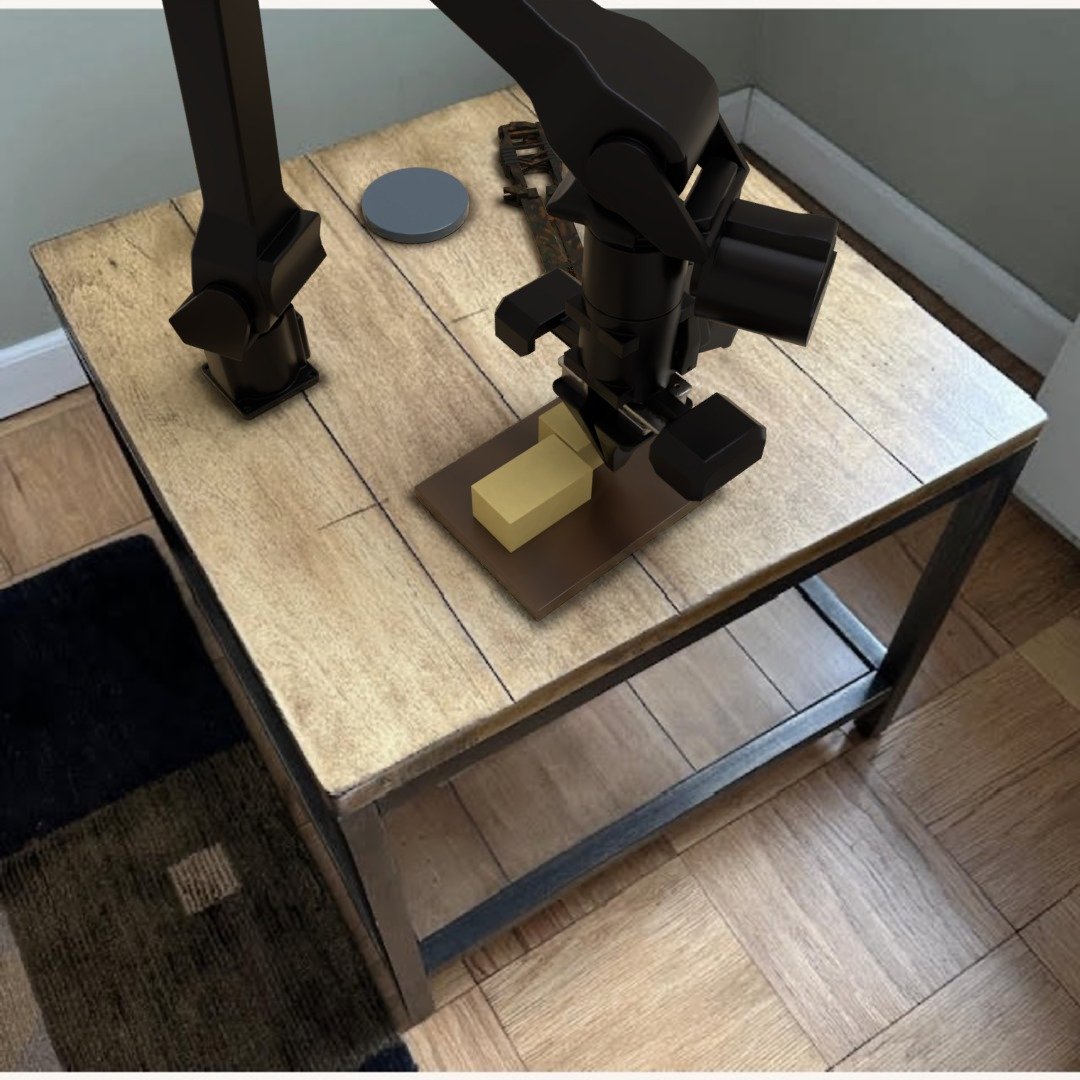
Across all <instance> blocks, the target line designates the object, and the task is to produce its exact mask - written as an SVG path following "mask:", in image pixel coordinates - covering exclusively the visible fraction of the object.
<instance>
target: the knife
mask: <svg viewBox="0 0 1080 1080" xmlns="http://www.w3.org/2000/svg"><path fill="white" fill-rule="evenodd" d="M497 136H498V139H499V140H502V143H499V144H498V150H499V161H500V163H501V167H502V170H503V174H504V176H505V178H508V179H510V181H511V185H509V186H503V187H502V192H503V194H504V195H503V203H504V204H508V205H511V206H514V207H518V208H521V207H522V208H523V210H524V214H525V216H526V220H527V223H528V225H529V228H530V232H531V234H532V237H533V239H534V242H535V245H536V248H537V251H538V254H539V257H540V259H541V263H542V266H543V268H544V271H545V274H546V273H547V272H549V271H551V270H554V269H556V268H560V269H562V270H564V271H566V272H568V273H569V269H570V270H571V269H572V271H573V272H572V273H573V274H574V277H575V278H576V279H577V280H578V281H580V282H581V283H582V270H583V249H584V236H583V235H582V232H581V230H580V227H579V224H578V223H574V222H570V221H566V220H562V219H559V218H555V217H551V216H549V215H548V214H547V213H546V206H545V204H544V201H543V199H542V196H541V195H540V194H539V191H538V189H537V187H528V184H527V181H526V178H525V175H524V174H526V173H528V172H531V171H533V170H535V169H536V170H540V171H544V172H549V174H550V176H551V179H552V182H553V184H551V185H546V186H545V196H546V199H545V200H546V201H547V203H548V202H549V200H550V199H551V197H552V196H553V194H554V193H555V191H556V189H557V188H558V186H559V185H560V183H561V182H562V180H563V176H562V172H563V163H562V161H561V160H560V159H559V158H558V157H557V155H556V154H555V153H554V152H553V150H552V149H551V148H550V147H549V145H548V143H547V140H546V137H545V135H544V132H543V130H542V127H541V125H540V122H539V121H534V122H530V121H527V120H520V121H518V120H516V121H515V120H514V121H509V123H507V124H501V125H499V126H498V127H497ZM511 137H512V138H522V141H521V140H520V141H515V142H512V139H511ZM537 148H540V151H539V152H537V153H530V154H529V153H528V154H523V155H518V153H517V151H522V150H529V149H537ZM537 159H538V160H537ZM522 167H525V168H522ZM551 222H554V223H555V225H556V229H557V231H558V234H559V237H560V240H561V242H562V245H563V247H564V250H565V253H566V255H567V259H568V261H566V262H565V259H564V257H563V254H562V251H561V248H560V245H559V243H558V240H557V237H556V234H555V232H554V229H553V226H552V224H551Z"/></svg>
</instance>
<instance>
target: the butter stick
mask: <svg viewBox="0 0 1080 1080" xmlns="http://www.w3.org/2000/svg"><path fill="white" fill-rule="evenodd" d="M592 476H593V468H592V467H590V466H589V465H588V464H587V463H586V462H585V461H584V460H583V459H582V458H580V457H579V456H578V455H577V454H576V453H575V452H574V451H573V450H571V449H570V448H569V447H568V446H567V445H566V444H565V443H564V442H562V441H561V440H560V439H559V438H558V437H557V436H556V435H555V434H552V435H550V436H549V437H547V438H546V439H544V440H542V441H541V442H539V443H538V444H536V445H535V446H533V447H531V448H530V449H528V450H527V451H525V452H524V453H522V454H520V455H519V456H517V457H516V458H514V459H513V460H511V461H509V462H508V463H506V464H505V465H503V466H502V467H500V468H498V469H497V470H495V471H494V472H492V473H491V474H489V475H487V476H486V477H484V478H483V479H481V480H480V481H478V482H476V483H475V484H473V485H472V486H471V492H472V507H473V516H474V517H475V518H476V519H477V520H478V521H479V522H480V523H481V524H482V525H483V526H484V527H485V528H486V529H487V530H488V531H489V532H490V533H491V534H492V535H493V536H494V537H495V538H496V539H497V540H498V541H499V542H500V543H501V544H502V545H503V546H504V547H505V548H506V549H507V550H508V551H509V552H513V551H514V550H516V549H517V548H519V547H520V546H522V545H523V544H525V543H526V542H528V541H529V540H531V539H532V538H533V537H535V536H536V535H538V534H539V533H541V532H542V531H544V530H545V529H547V528H548V527H550V526H551V525H553V524H554V523H556V522H557V521H559V520H560V519H562V518H563V517H564V516H566V515H567V514H569V513H570V512H572V511H573V510H575V509H576V508H578V507H579V506H581V505H582V504H584V503H585V502H587V501H588V500H590V499H591V490H592Z"/></svg>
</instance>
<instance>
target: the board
mask: <svg viewBox="0 0 1080 1080" xmlns="http://www.w3.org/2000/svg"><path fill="white" fill-rule="evenodd" d="M561 402H563V401H562V400H561V399H560V398H559V396H557V397H556V398H554V399H552V400H551V401H549V402H548V403H546V404H545V405H543V406H542V407H540V408H537V410H535V411H533V412H531V413H530V414H528V415H527V416H525V417H523V418H522V419H520V420H518V421H516V423H514V424H513V425H511V426H509V427H507V428H505V430H503V431H501V432H499V433H498V434H496V435H495V436H493V437H491V438H489V439H488V440H487V441H485V442H483V443H482V444H480V445H479V446H477V447H475V448H473V449H472V450H470V451H469V452H468V453H466V454H464V455H463V456H461V457H459V458H458V459H456V460H454V461H453V462H451V463H449V464H448V465H446V466H445V467H443V468H442V469H440V470H438V471H437V472H435V473H433V474H431V475H429V477H427V478H425V479H424V480H422V481H421V482H419V483H417V484H416V485H414V487H413V488H414V494H415V495H414V496H415V498H416V499H417V501H419V502H420V503H421V504H422V505H423V506H424V507H425V508H426V509H427V510H428V512H429V513H431V515H433V516H434V518H435V519H436V520H437V521H439V523H440V524H442V526H443V527H444V528H445V529H447V531H448V532H449V533H450V534H451V535H452V536H453V537H454V538H455V539H456V540H457V541H458V542H459V543H460V544H461V545H462V546H463V547H464V548H465V549H466V550H467V551H468V552H469V553H470V554H471V555H472V556H473V558H475V559H476V560H477V561H478V562H479V563H480V564H481V565H482V567H484V568H485V569H486V571H488V572H489V574H490V575H492V577H494V578H495V579H496V580H497V582H498V583H499V584H500V585H501V586H503V587H504V589H505V590H507V591H508V593H509V594H510V595H511V596H512V597H513V598H514V599H515V600H516V601H517V602H518V603H519V604H520V605H521V606H522V608H524V609H525V610H526V611H527V612H528V613H529V614H530V615H531V616H532V617H533V618H534V619H535V620H536V621H537V622H539V621H540V620H541V619H543V618H544V617H546V616H547V615H549V614H550V613H551V612H553V611H555V610H556V609H557V608H559V607H560V606H561V605H562V604H564V603H566V602H567V601H568V600H570V599H571V598H572V597H574V596H575V595H577V594H578V593H579V592H581V591H582V590H584V589H585V588H586V587H588V586H590V585H591V584H592V583H593V582H595V581H596V580H597V579H599V578H600V577H602V576H604V574H605V573H607V572H608V571H609V570H611V569H612V568H614V567H616V566H617V565H618V564H619V563H621V562H622V561H624V560H626V558H628V557H629V556H631V555H632V554H633V553H635V552H636V551H638V550H640V549H641V548H642V547H644V546H645V545H647V543H649V542H650V541H651V540H653V539H654V538H656V537H658V536H659V535H661V533H663V532H664V531H666V530H667V529H668V528H670V527H671V526H673V525H674V524H676V523H677V522H678V521H680V520H681V519H683V518H684V517H686V515H688V514H690V513H691V512H693V511H694V510H695V509H696V508H698V507H700V506H701V505H702V504H703V503H704V502H706V501H707V500H709V499H710V498H712V497H713V496H714V495H716V493H717V491H715V492H714V493H712V494H711V495H710V496H708V497H707V498H705V499H704V500H703V501H701V502H698V501H687V500H686V499H684V498H683V497H682V496H681V495H680V494H679V493H677V492H676V491H675V490H674V489H673V488H672V487H671V486H669V485H668V484H667V483H666V482H665V481H664V480H662V479H661V478H660V477H659V476H658V475H657V474H656V473H655V471H654V469H653V466H652V464H651V462H650V460H649V458H648V456H649V449H650V445H651V444H652V442H653V441H654V439H655V438H656V437H657V436H656V437H655V438H653V439H652V440H650V441H649V442H647V443H646V444H644V445H643V446H641V447H640V448H638V449H637V450H635V451H634V453H633V454H632V455H631V457H630V458H629V460H628V461H627V462H626V464H625V465H624V466H622V467H621V468H620V469H618V470H617V471H615V472H612V471H611V470H610V469H609V468H608V467H607V466H606V465H605V464H604V463H603V464H602V465H600V466H599V467H597V468H596V469H594V470H593V476H592V490H591V499H590V500H588V501H587V502H585V503H584V504H582V505H581V506H579V507H578V508H576V509H575V510H573V511H572V512H570V513H569V514H567V515H566V516H564V517H563V518H562V519H560V520H559V521H557V522H556V523H554V524H553V525H551V526H550V527H548V528H547V529H545V530H544V531H542V532H541V533H539V534H538V535H536V536H535V537H533V538H532V539H531V540H529V541H528V542H526V543H525V544H523V545H522V546H520V547H519V548H517V549H516V550H514V551H513V552H509V551H508V550H507V549H506V548H505V547H504V546H503V545H502V544H501V543H500V542H499V541H498V540H497V539H496V538H495V537H494V536H493V535H492V534H491V533H490V532H489V531H488V530H487V529H486V528H485V527H484V526H483V525H482V524H481V523H480V522H479V521H478V520H477V519H476V518H475V517H474V516H473V507H472V492H471V486H472V485H473V484H475V483H476V482H478V481H480V480H481V479H483V478H484V477H486V476H487V475H489V474H491V473H492V472H494V471H495V470H497V469H498V468H500V467H502V466H503V465H505V464H506V463H508V462H509V461H511V460H513V459H514V458H516V457H517V456H519V455H520V454H522V453H524V452H525V451H527V450H528V449H530V448H531V447H533V446H535V445H536V444H538V438H539V416H540V415H542V414H544V413H545V412H547V411H548V410H550V409H552V408H553V407H555V406H557V405H558V404H560V403H561Z"/></svg>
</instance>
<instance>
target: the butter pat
mask: <svg viewBox="0 0 1080 1080" xmlns="http://www.w3.org/2000/svg"><path fill="white" fill-rule="evenodd" d="M552 434H555V435H556V436H557V437H558V438H559V439H560V440H561V441H562V442H564V443H565V444H566V445H567V446H568V447H569V448H570V449H571V450H573V451H574V452H575V453H576V454H577V455H578V456H579V457H580V458H582V459H583V460H584V461H585V462H586V463H587V464H588V465H589V466H590V467H592V468H593V470H594V469H596V468H597V467H599V466H600V465H602V464H603V463H604V462H603V461H602V459H601V457H600V456H599V454H598V453H597V451H596V450H595V448H594V447H593V445H592V444H591V442H590V440H589V439H588V437H587V436H586V435H585V433H584V432H583V430H582V428H581V427H580V426H579V424H578V423H577V421H576V420H575V418H574V417H573V416H572V414H571V413H570V411H569V410H568V408H567V407H566V406H565V404H564V403H563V402H561V403H560V404H558V405H557V406H555V407H553V408H552V409H550V410H548V411H547V412H545V413H544V414H542V415H540V416H539V438H538V443H539V442H541V441H542V440H544V439H546V438H547V437H549V436H550V435H552Z"/></svg>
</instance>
